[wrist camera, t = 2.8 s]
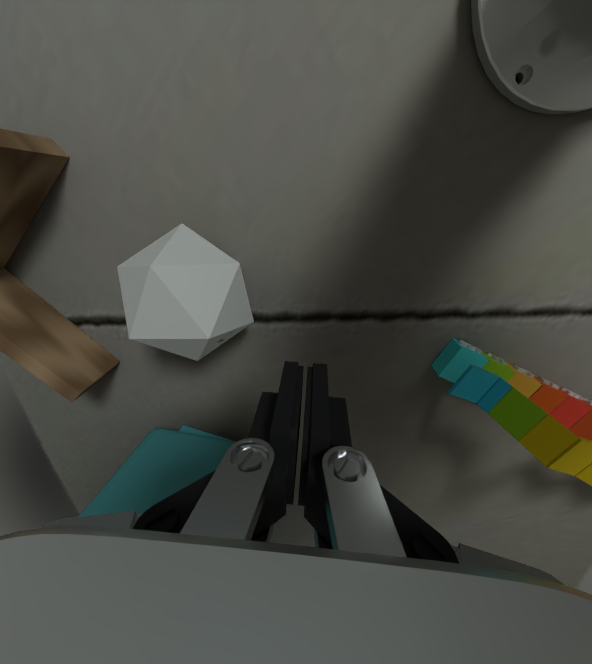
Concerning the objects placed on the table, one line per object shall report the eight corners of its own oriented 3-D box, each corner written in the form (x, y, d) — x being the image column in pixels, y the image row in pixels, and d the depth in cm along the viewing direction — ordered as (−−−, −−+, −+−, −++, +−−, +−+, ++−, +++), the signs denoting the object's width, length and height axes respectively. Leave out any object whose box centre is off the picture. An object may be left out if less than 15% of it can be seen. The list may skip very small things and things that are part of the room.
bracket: (65, 139, 20) (-9, 123, 16) (122, 370, 29) (84, 403, 24) (-74, 134, 21) (-183, 117, 17) (20, 361, 29) (-36, 392, 25)
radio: (157, 395, 30) (16, 562, 16) (258, 412, 29) (202, 597, 16) (170, 574, 44) (102, 742, 31) (237, 587, 44) (199, 761, 30)
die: (169, 324, 27) (195, 405, 20) (85, 253, 20) (86, 340, 14) (243, 273, 27) (290, 337, 21) (184, 187, 20) (228, 243, 14)
